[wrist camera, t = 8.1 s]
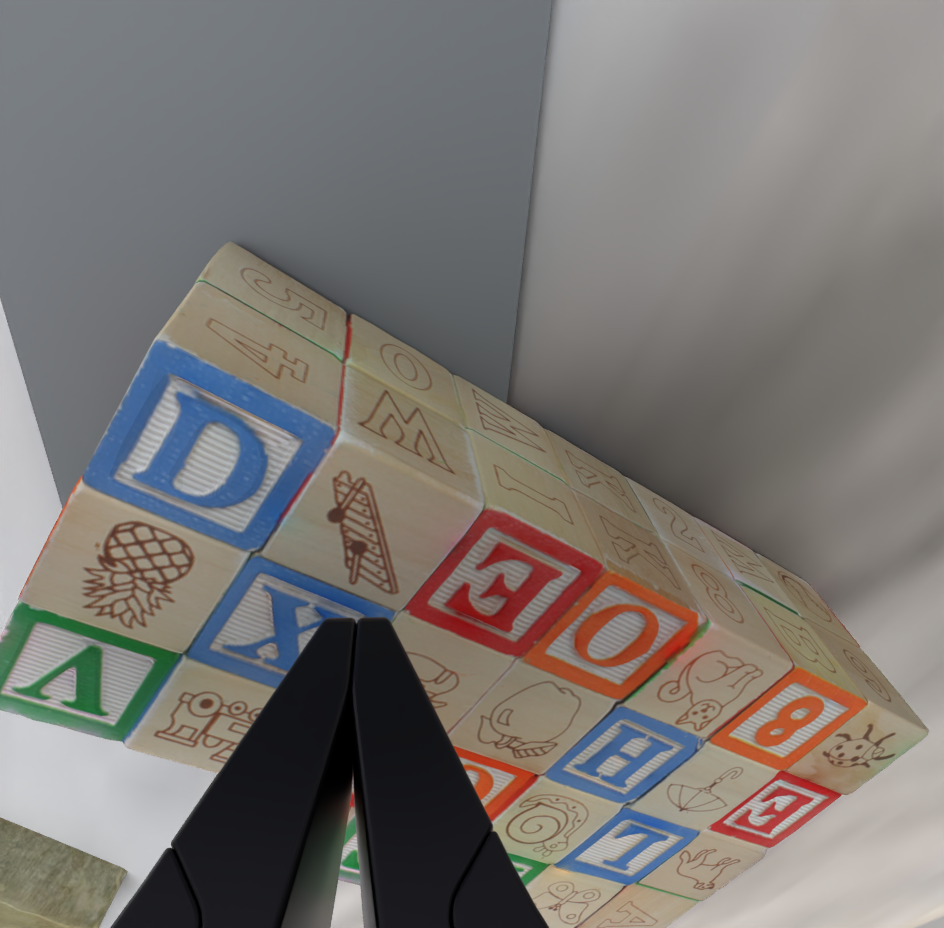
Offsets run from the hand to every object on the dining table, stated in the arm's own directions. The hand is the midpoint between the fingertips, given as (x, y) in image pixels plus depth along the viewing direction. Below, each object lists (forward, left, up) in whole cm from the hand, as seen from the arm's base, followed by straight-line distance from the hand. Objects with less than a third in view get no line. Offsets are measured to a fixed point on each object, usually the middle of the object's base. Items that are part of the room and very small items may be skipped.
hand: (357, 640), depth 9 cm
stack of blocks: (-6, +2, -7) cm, 9 cm away
